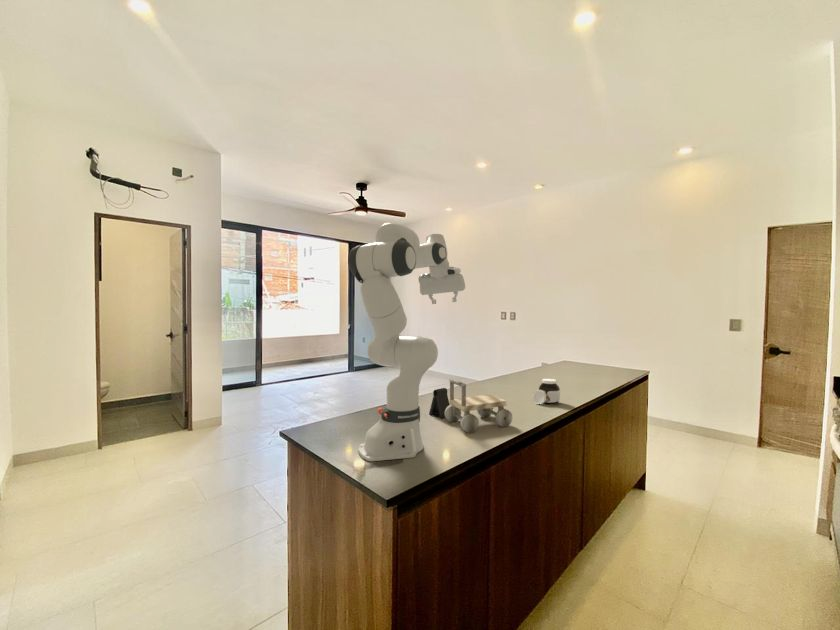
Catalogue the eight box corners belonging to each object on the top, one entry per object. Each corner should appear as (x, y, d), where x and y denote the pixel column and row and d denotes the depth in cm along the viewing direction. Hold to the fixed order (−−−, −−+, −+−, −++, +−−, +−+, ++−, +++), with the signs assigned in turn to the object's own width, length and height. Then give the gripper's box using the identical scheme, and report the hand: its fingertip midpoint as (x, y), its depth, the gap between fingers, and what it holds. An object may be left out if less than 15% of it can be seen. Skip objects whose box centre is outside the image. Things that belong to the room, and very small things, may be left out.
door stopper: (452, 416, 160) (452, 389, 159) (442, 419, 156) (442, 391, 156) (438, 411, 167) (438, 386, 166) (429, 414, 163) (428, 388, 162)
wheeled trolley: (463, 434, 137) (462, 385, 137) (444, 421, 152) (444, 377, 152) (512, 425, 146) (512, 380, 146) (490, 415, 161) (490, 373, 160)
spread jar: (561, 402, 181) (561, 379, 181) (556, 407, 171) (556, 383, 171) (537, 399, 187) (537, 377, 187) (531, 404, 178) (531, 381, 177)
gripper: (415, 275, 157) (420, 306, 160) (460, 269, 150) (464, 301, 152) (420, 273, 163) (424, 303, 165) (463, 268, 156) (467, 299, 158)
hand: (444, 302), depth 159 cm, fingers open, 8 cm apart
